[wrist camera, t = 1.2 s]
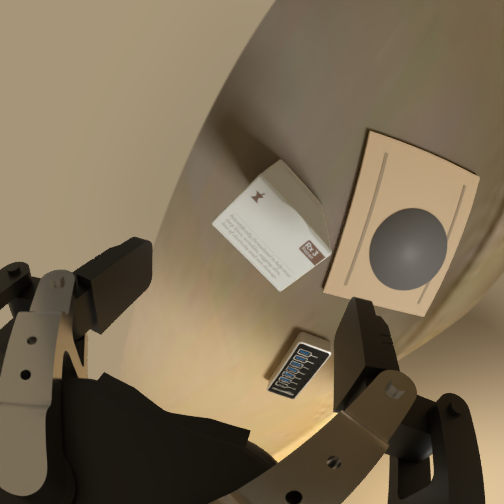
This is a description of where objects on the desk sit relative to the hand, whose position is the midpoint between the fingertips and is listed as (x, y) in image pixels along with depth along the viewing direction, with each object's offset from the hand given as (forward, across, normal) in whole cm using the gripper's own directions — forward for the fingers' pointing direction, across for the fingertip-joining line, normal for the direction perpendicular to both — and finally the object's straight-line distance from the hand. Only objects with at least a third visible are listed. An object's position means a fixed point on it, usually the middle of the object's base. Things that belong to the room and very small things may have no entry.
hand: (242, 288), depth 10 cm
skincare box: (+18, 0, 0) cm, 18 cm away
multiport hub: (+18, -6, +21) cm, 28 cm away
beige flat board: (+17, -12, 0) cm, 21 cm away
